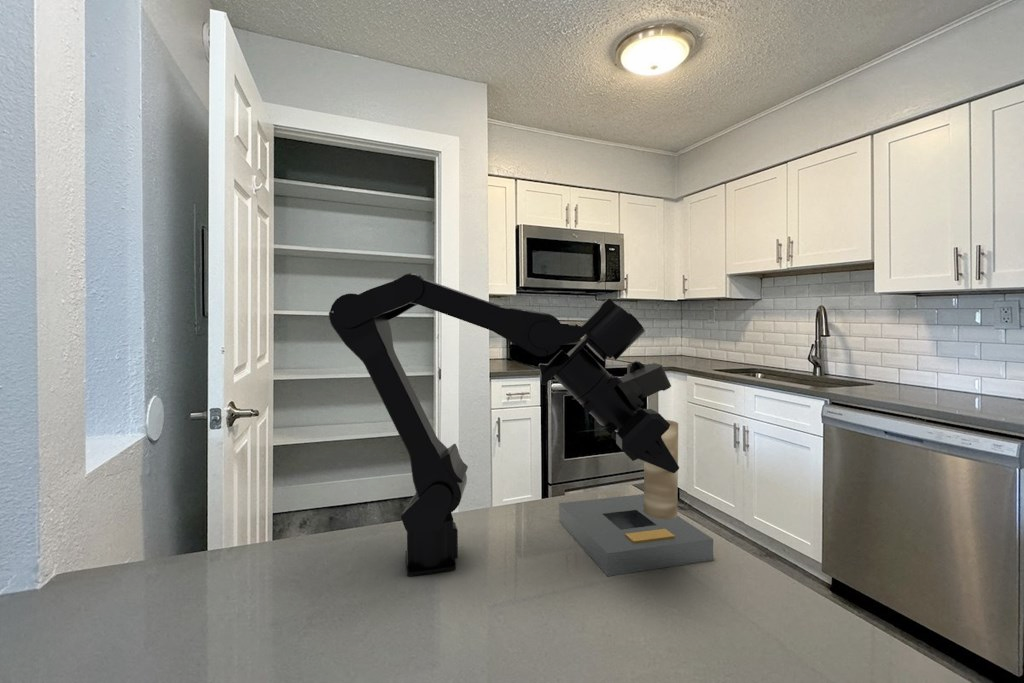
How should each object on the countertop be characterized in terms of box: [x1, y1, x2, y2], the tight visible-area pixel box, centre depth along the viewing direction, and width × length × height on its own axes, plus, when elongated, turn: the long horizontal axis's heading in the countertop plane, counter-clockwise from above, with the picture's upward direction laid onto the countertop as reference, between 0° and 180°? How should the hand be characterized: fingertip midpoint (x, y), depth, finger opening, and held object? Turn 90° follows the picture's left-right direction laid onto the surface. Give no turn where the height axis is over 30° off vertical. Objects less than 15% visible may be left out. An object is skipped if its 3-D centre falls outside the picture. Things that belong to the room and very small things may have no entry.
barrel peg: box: [643, 419, 679, 519], centre depth 63 cm, size 4×4×12 cm
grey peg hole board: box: [558, 493, 714, 577], centre depth 70 cm, size 16×18×3 cm
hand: (670, 465), depth 63 cm, fingers closed on barrel peg, 4 cm apart
